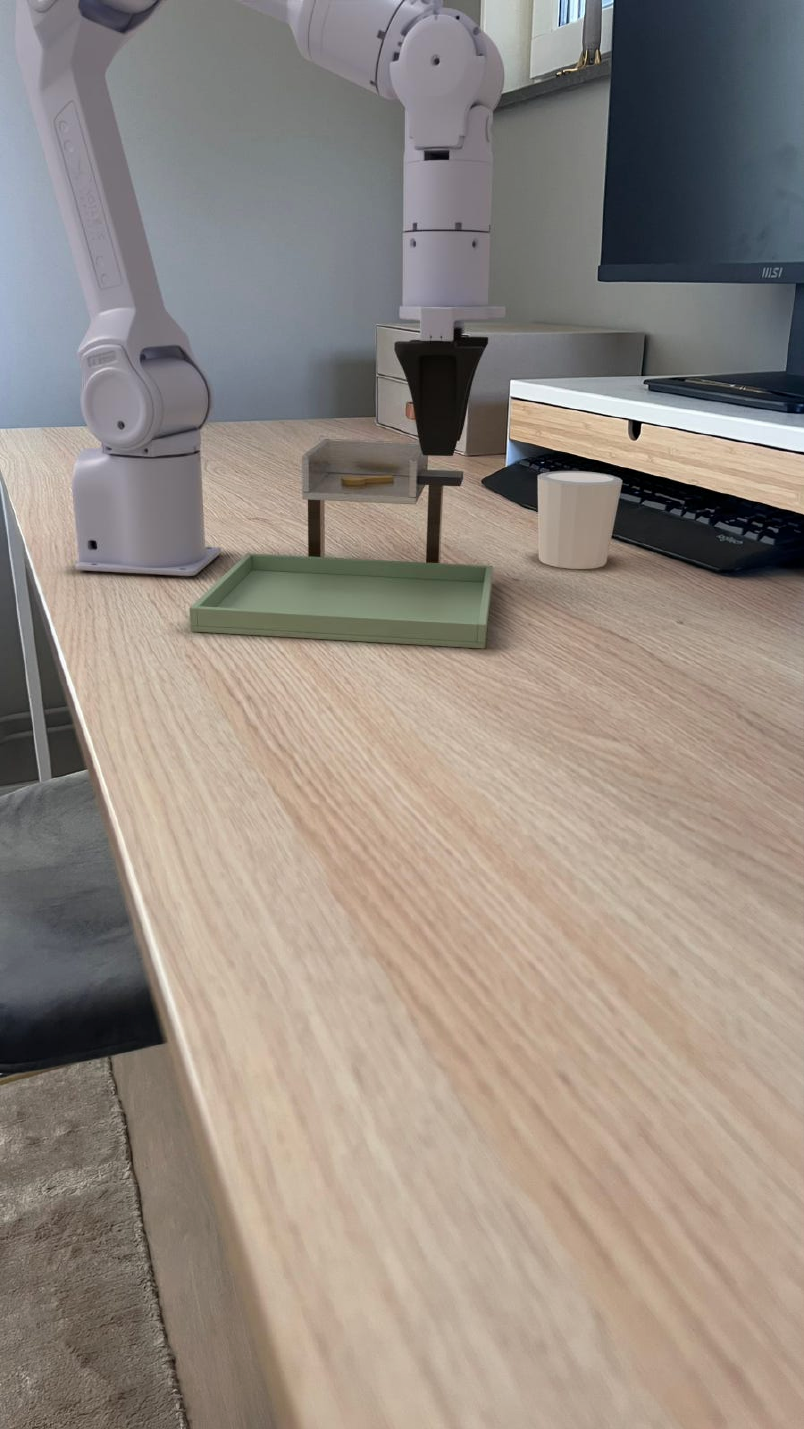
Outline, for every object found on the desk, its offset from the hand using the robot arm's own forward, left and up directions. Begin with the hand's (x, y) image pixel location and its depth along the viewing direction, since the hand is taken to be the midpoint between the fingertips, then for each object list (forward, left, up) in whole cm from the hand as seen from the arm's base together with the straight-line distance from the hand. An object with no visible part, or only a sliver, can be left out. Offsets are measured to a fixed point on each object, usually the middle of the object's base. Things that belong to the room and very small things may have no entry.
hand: (442, 447), depth 72 cm
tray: (-6, -5, -11) cm, 13 cm away
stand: (-6, +6, -11) cm, 14 cm away
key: (-6, +2, -3) cm, 7 cm away
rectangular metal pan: (-4, +2, -4) cm, 6 cm away
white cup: (+10, +12, -11) cm, 20 cm away
